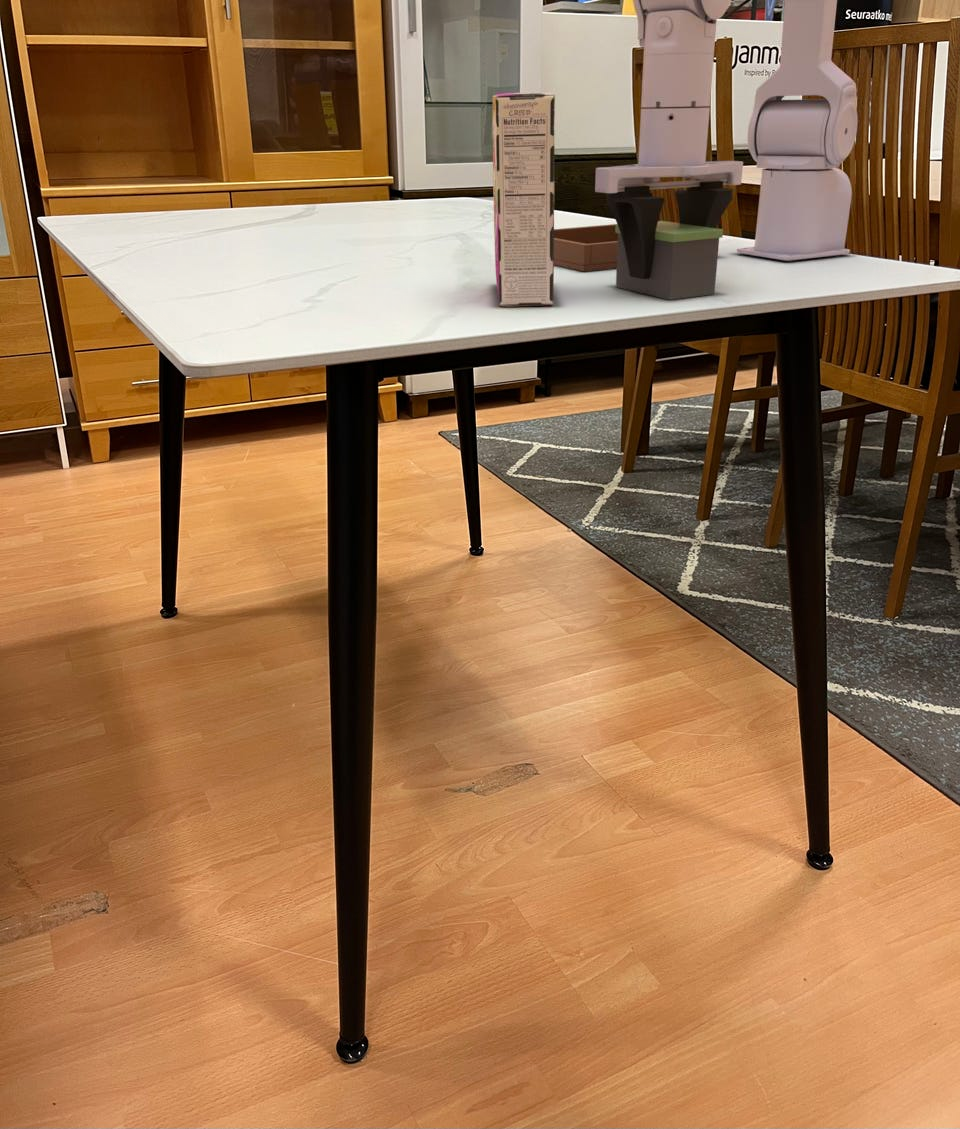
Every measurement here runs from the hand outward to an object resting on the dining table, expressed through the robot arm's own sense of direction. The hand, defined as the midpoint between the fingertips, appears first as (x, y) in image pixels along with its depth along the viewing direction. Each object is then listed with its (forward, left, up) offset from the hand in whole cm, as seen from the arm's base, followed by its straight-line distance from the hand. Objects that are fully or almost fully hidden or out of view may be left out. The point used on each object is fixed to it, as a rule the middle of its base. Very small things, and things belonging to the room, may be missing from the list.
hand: (664, 274), depth 87 cm
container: (0, 0, -1) cm, 1 cm away
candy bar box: (+12, -5, -2) cm, 13 cm away
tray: (-9, -20, -1) cm, 22 cm away
